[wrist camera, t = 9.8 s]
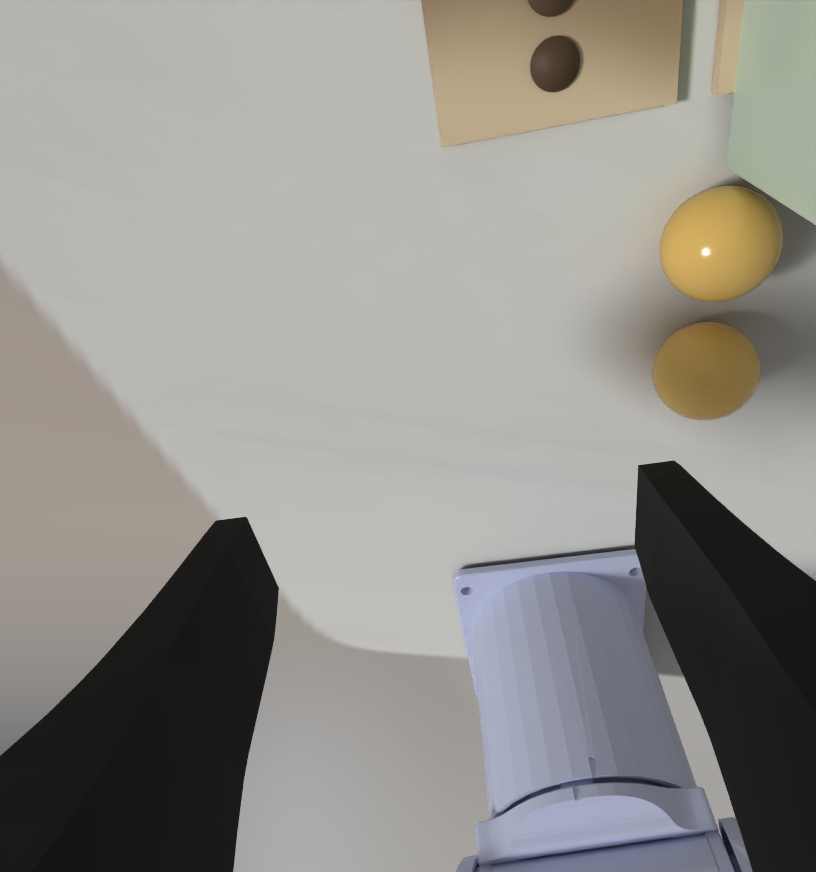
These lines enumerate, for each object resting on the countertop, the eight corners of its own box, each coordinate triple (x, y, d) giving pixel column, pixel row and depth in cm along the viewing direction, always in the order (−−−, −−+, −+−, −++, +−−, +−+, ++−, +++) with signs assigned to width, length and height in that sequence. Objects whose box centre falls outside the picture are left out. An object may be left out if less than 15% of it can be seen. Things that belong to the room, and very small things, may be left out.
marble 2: (729, 379, 21) (770, 432, 19) (638, 392, 22) (666, 446, 19) (741, 297, 20) (787, 344, 17) (642, 313, 20) (673, 361, 18)
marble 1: (746, 267, 19) (794, 311, 17) (643, 283, 19) (676, 328, 17) (760, 163, 17) (817, 195, 15) (647, 183, 18) (685, 217, 15)
